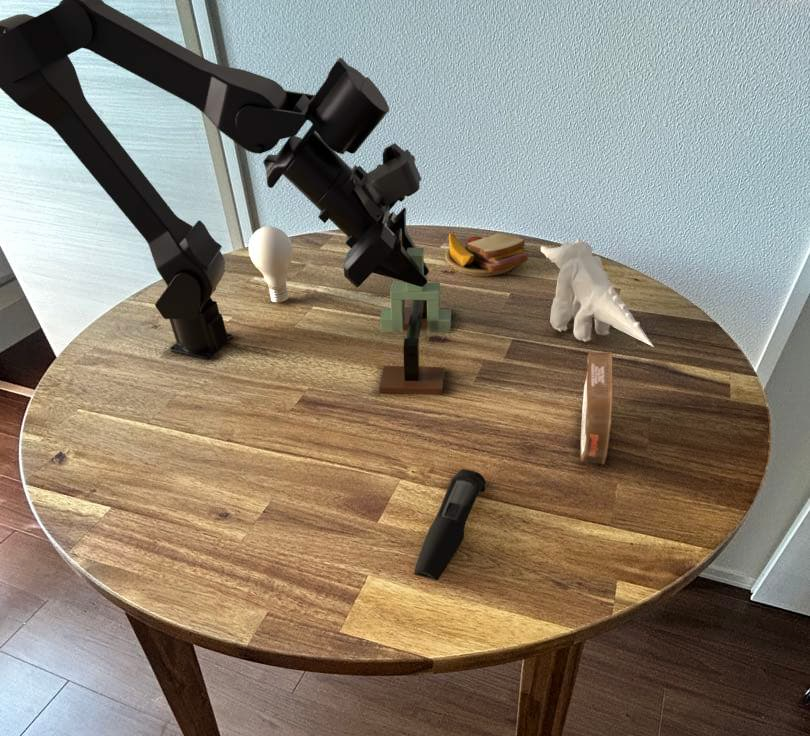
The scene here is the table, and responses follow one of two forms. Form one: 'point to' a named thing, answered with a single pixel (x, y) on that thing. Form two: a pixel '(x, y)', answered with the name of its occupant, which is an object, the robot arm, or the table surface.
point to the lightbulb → (272, 259)
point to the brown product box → (597, 408)
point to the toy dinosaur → (587, 295)
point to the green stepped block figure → (405, 291)
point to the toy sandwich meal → (485, 254)
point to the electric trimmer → (449, 524)
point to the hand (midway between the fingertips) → (425, 279)
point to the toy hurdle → (413, 360)
